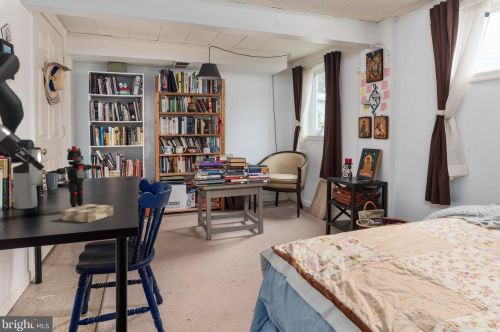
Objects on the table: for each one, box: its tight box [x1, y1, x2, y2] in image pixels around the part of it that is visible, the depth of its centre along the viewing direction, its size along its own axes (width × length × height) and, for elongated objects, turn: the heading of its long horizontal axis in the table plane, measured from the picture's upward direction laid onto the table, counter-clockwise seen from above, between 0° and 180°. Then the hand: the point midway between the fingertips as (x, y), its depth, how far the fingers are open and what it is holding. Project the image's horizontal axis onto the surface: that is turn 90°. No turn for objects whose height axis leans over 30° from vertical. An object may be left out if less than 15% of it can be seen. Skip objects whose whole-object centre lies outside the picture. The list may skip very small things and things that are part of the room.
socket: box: [61, 203, 114, 223], centre depth 145 cm, size 14×14×4 cm
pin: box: [28, 149, 44, 187], centre depth 135 cm, size 4×4×14 cm
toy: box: [46, 145, 102, 208], centre depth 156 cm, size 30×8×30 cm, turn 168°
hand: (41, 168), depth 137 cm, fingers closed on pin, 4 cm apart
